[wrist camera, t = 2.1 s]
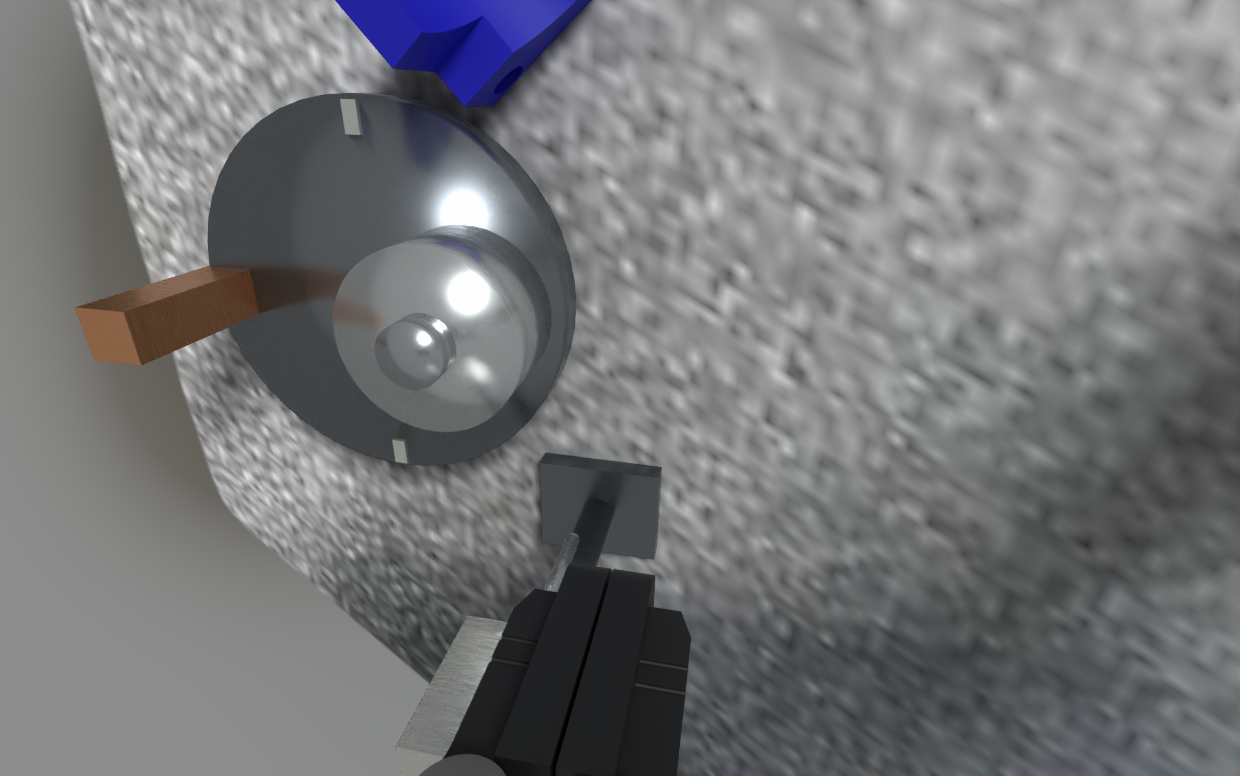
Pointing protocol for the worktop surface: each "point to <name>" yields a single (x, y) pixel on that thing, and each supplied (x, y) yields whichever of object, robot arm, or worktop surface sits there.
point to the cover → (442, 326)
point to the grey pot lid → (342, 259)
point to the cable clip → (464, 38)
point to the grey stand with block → (584, 526)
